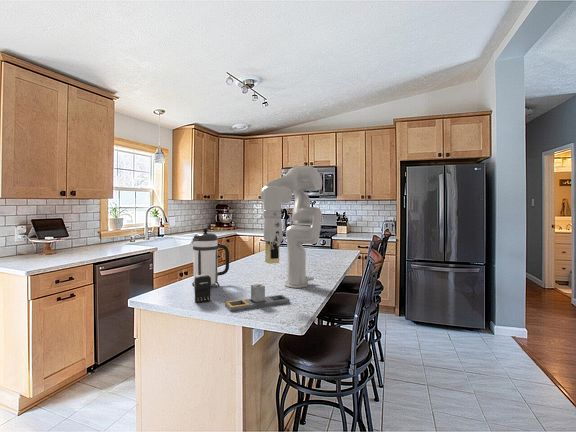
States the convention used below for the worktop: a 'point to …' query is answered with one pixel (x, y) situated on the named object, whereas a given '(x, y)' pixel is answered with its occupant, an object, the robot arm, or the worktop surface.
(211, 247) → the coffee press
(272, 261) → the wooden block with knob
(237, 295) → the worktop surface
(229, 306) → the grey block holder rack
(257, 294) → the grey block with knob
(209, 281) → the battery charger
